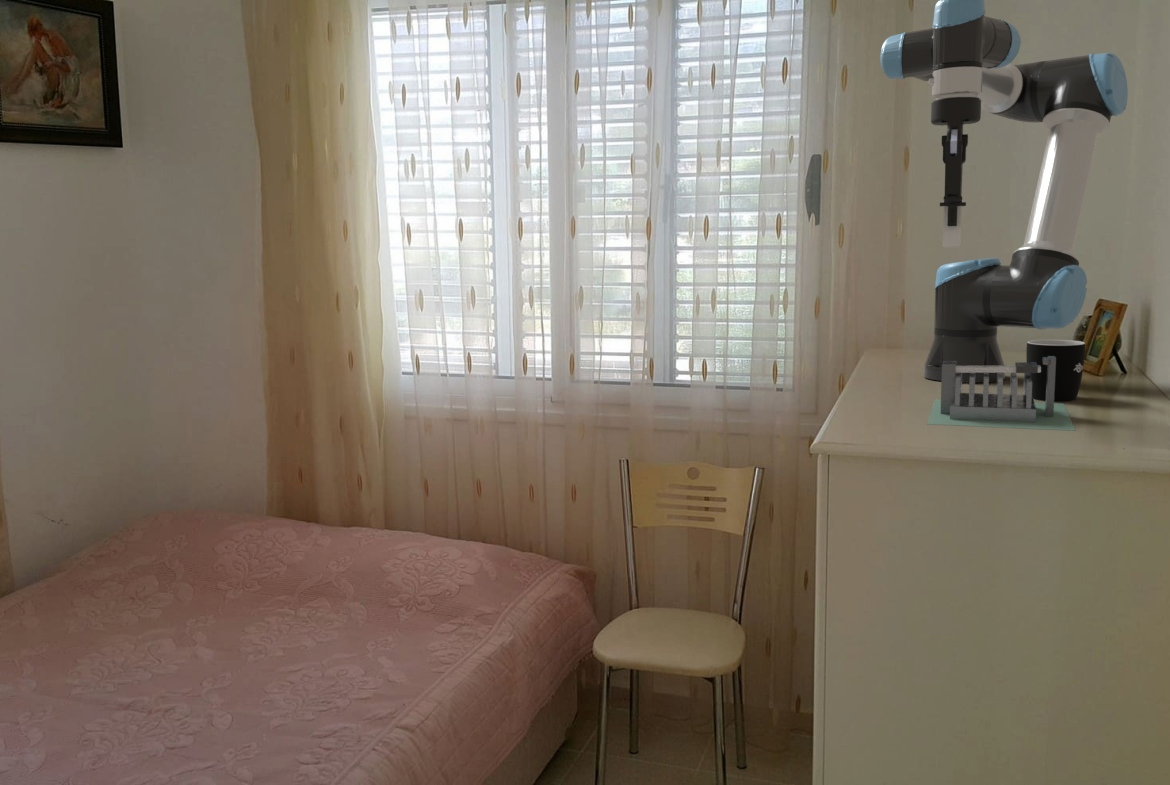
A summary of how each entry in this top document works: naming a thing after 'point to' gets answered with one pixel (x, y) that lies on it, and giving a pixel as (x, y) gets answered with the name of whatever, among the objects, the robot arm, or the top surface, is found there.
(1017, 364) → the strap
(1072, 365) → the mug
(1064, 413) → the board
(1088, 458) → the top surface
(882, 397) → the top surface
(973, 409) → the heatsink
